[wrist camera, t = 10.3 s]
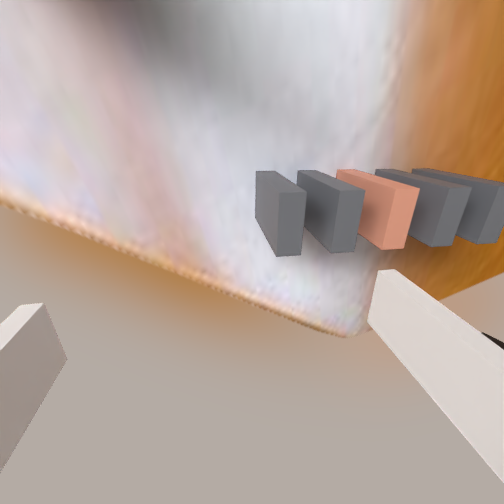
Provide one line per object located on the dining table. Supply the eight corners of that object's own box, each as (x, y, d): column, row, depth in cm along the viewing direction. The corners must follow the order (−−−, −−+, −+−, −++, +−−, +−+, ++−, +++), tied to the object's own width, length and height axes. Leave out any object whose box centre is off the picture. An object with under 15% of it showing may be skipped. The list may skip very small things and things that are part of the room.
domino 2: (315, 170, 28) (365, 190, 20) (311, 215, 31) (354, 251, 22) (297, 170, 28) (339, 190, 19) (294, 215, 30) (330, 253, 21)
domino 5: (428, 168, 30) (520, 186, 21) (416, 210, 33) (496, 242, 24) (412, 168, 30) (499, 186, 21) (401, 211, 32) (476, 244, 23)
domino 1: (274, 170, 28) (306, 191, 19) (272, 216, 30) (300, 255, 21) (255, 171, 28) (279, 192, 19) (255, 217, 30) (276, 256, 21)
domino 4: (392, 169, 30) (472, 187, 21) (382, 212, 32) (451, 245, 23) (376, 169, 29) (449, 187, 21) (367, 212, 32) (430, 246, 23)
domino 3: (354, 169, 29) (420, 188, 20) (347, 213, 31) (403, 248, 22) (337, 169, 29) (395, 189, 20) (331, 214, 31) (381, 249, 22)
